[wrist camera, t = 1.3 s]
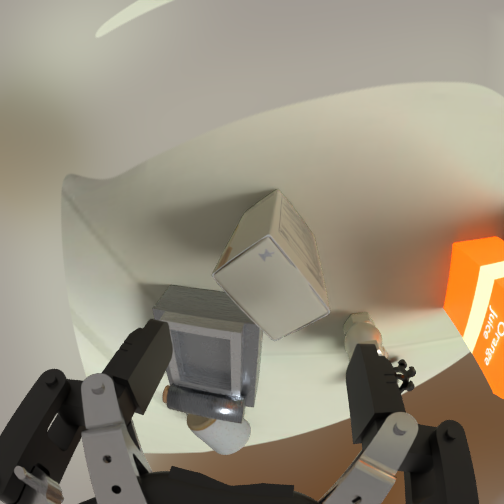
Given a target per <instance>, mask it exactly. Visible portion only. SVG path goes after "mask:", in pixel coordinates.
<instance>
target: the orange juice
mask: <svg viewBox="0 0 504 504" xmlns="http://www.w3.org/2000/svg"><path fill="white" fill-rule="evenodd" d="M444 310H445V311H446V313H447V314H448V316H449V317H450V318H451V320H452V322H453V323H454V325H455V326H456V328H457V329H458V331H459V332H460V334H461V335H462V337H463V340H464V341H465V343H466V345H467V346H468V348H469V350H470V351H471V353H472V354H473V355H474V357H475V359H476V361H477V362H478V364H479V366H480V368H481V370H482V371H483V373H484V375H485V377H486V379H487V381H488V383H489V385H490V387H491V389H492V390H493V393H494V394H496V395H497V396H499V397H501V398H502V399H504V241H503V240H501V239H500V238H499V237H497V236H496V237H489V238H483V239H476V240H470V241H463V242H456V243H453V248H452V257H451V266H450V273H449V280H448V286H447V292H446V298H445V303H444Z"/></svg>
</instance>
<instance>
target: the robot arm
mask: <svg viewBox="0 0 504 504" xmlns="http://www.w3.org/2000/svg"><path fill="white" fill-rule="evenodd" d="M172 354H173V346H172V341H171V335H170V329H169V324H168V323H167V322H165V321H159V320H154V319H150V320H149V321H148V322H147V324H146V325H145V327H144V328H143V329H142V328H138V329H136V330H135V331H133V332H132V333H130V334H129V336H128V337H127V338H126V340H125V341H124V343H123V344H122V345H121V347H120V348H119V350H118V351H117V352H116V353H115V355H114V356H113V358H112V359H111V360H110V362H109V363H108V365H107V366H106V368H105V369H104V370H103V372H102V373H97V374H92V375H90V376H88V377H87V378H86V379H85V380H84V381H80V380H70V379H66V377H65V375H64V373H63V372H62V371H60V370H58V369H50V370H47V371H45V372H44V373H43V374H42V375H41V376H40V377H39V379H38V380H37V381H36V383H35V384H34V385H33V387H32V388H31V390H30V391H29V393H28V394H27V395H26V397H25V398H24V400H23V401H22V403H21V404H20V406H19V407H18V408H17V410H16V412H15V413H14V415H13V416H12V418H11V419H10V421H9V422H8V424H7V426H6V427H5V429H4V430H3V432H2V434H1V436H0V500H1V501H2V502H3V503H5V504H61V503H62V502H63V500H64V497H63V495H62V491H61V487H60V486H59V483H60V481H61V479H62V477H63V475H64V472H65V470H66V468H67V466H68V464H69V462H70V460H71V457H72V455H73V453H74V451H75V449H76V447H77V445H78V443H79V441H80V439H81V437H82V442H83V447H84V452H85V457H86V462H87V467H88V471H89V474H90V479H91V483H92V486H93V490H94V493H95V497H94V498H92V499H89V500H87V501H84V502H81V503H79V504H381V503H382V501H383V500H384V498H385V497H386V495H387V494H388V492H389V491H390V489H391V487H392V486H393V484H394V482H395V480H396V477H395V474H396V472H397V471H404V480H405V497H406V504H479V500H478V493H477V487H476V480H475V474H474V469H473V464H472V460H471V455H470V451H469V447H468V443H467V439H466V435H465V432H464V429H463V427H462V426H461V425H460V424H459V423H458V422H456V421H453V420H446V421H444V422H442V423H441V424H440V425H439V426H438V427H431V426H425V425H420V424H417V421H416V420H415V418H414V417H412V416H411V415H409V414H408V413H406V411H405V408H404V404H403V401H402V397H401V393H400V390H399V386H398V383H397V380H396V377H395V376H394V374H395V373H394V370H393V367H392V364H391V363H390V362H389V361H388V359H387V358H386V357H385V356H379V355H378V352H377V348H376V346H375V344H357V345H356V347H355V349H354V352H353V355H352V357H351V360H350V363H349V365H348V368H347V372H346V385H347V393H348V401H349V409H350V417H351V427H352V436H353V444H358V443H362V451H361V452H360V453H359V454H358V456H357V457H356V458H355V460H354V461H353V462H352V464H351V465H350V466H349V467H348V469H347V470H346V471H345V472H344V474H343V475H342V476H341V477H340V478H339V480H338V481H337V482H336V483H335V484H334V485H333V486H332V487H331V488H330V489H329V491H327V493H326V494H325V495H324V496H323V497H322V498H321V499H320V500H319V501H318V502H317V501H315V500H314V499H312V498H311V497H309V496H307V495H305V494H302V493H299V492H296V491H294V485H279V484H266V483H261V484H251V485H238V486H230V485H227V484H224V483H222V482H219V481H217V480H215V479H212V478H210V477H208V476H206V475H203V474H201V473H198V472H193V471H189V470H185V469H182V468H178V467H174V466H172V467H171V469H170V471H160V472H152V470H151V468H150V466H149V464H148V462H147V460H146V458H145V456H144V454H143V451H142V448H141V445H140V442H139V439H138V436H137V433H136V430H135V427H134V424H133V420H132V416H133V414H134V412H136V413H139V414H142V415H144V413H145V411H146V409H147V407H148V405H149V403H150V401H151V399H152V397H153V395H154V393H155V391H156V389H157V387H158V385H159V383H160V381H161V379H162V377H163V375H164V373H165V371H166V369H167V367H168V365H169V363H170V361H171V358H172ZM57 413H58V415H57V416H56V418H55V420H54V421H53V423H52V425H51V427H50V428H49V430H48V427H49V425H50V423H51V422H52V420H53V418H54V417H55V415H56V414H57ZM47 430H48V432H47Z"/></svg>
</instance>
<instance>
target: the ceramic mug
mask: <svg viewBox="0 0 504 504" xmlns="http://www.w3.org/2000/svg"><path fill="white" fill-rule="evenodd" d="M186 414H187V415H188V416H187V425H188V427H189V428H190V429H191V431H192V432H193V433H194V434H195V435H196V436H197V437H199V438H200V439H201V440H203V441H204V442H205V443H206V444H207V445H208V446H210V447H211V448H212V449H213V450H215V451H216V452H217V453H219V454H224V455H227V454H232V453H234V452H236V451H238V450H239V449H241V448H242V447H243V446H244V445H245V444H246V442H247V441H248V439H249V437H250V433H251V427H250V424H249V423H248V422H247V421H246V420H245V419H244V418H243V421H242V424H240V423H234V422H228V421H222V420H217V419H212V418H207V417H202V416H197V415H193V414H189V413H186Z"/></svg>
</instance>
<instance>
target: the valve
mask: <svg viewBox="0 0 504 504" xmlns="http://www.w3.org/2000/svg"><path fill="white" fill-rule="evenodd" d="M343 329H344V334H345V336H346V337H345V349H346V352H347V354H348V356H349V361H350V360H351V357H352V355H353V352H354V349H355V347H356V345H357V344H375V346H376V348H377V352H378V355H379V356H385V357H386V358H388V354H387V352H386V350H385V349H384V347H383V346H382V336H381V333H380V331H379V330H378V329H377V328H376V327H375V324H374V322H373V320H372V319H371V317H370V316H369V314H368V313H367V312H365V313H357V314H351V315H350V317H349V318H348V320H347V321H346V323H345V324H344V326H343ZM398 363H399V366H398V367H393V366H392V367H393V370H394V373H395V374H394V376H395V377H396V380H397V383H398V384H399V380H398V379H400V380H402V381H403V383H402V385H401V386H400V388H399V390H400V393H402V392H403V391H404V390H407V391H411V390H413V389H414V384H413V382H412V381H410V382H409V378H410V377H413V376H415V374H416V371H415V369H414V367H409V370H408V371H406V370H405V368H406V367H407V363H406V362H405V360H403V359H402V360H400V361H399V362H398ZM396 372H400V373H402V374H403V375H402V374H396ZM401 397H402V396H401Z"/></svg>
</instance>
